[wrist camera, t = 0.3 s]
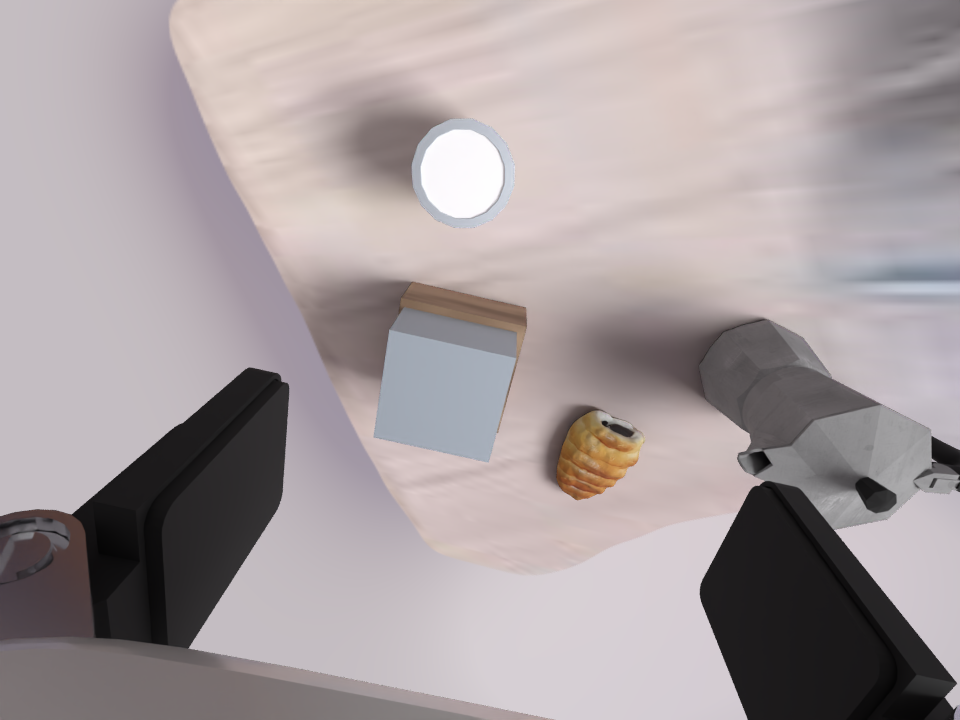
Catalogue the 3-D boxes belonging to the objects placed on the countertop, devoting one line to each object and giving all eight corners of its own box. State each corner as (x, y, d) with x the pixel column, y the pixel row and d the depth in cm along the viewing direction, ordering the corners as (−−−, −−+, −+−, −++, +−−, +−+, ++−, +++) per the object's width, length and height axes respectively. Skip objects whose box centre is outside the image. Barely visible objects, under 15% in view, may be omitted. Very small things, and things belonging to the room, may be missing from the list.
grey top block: (404, 307, 40) (389, 329, 35) (516, 332, 40) (516, 358, 36) (388, 405, 44) (373, 437, 39) (491, 428, 44) (488, 462, 39)
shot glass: (524, 129, 39) (525, 129, 32) (505, 221, 41) (503, 238, 35) (434, 111, 38) (418, 107, 32) (422, 204, 41) (404, 217, 35)
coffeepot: (664, 408, 47) (741, 556, 31) (687, 311, 43) (789, 422, 27) (835, 422, 47) (1007, 581, 30) (874, 325, 43) (1095, 447, 26)
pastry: (598, 497, 52) (603, 524, 49) (538, 473, 52) (539, 498, 48) (647, 426, 48) (656, 449, 45) (583, 399, 48) (587, 420, 44)
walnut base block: (413, 280, 44) (400, 298, 40) (526, 306, 45) (526, 326, 40) (396, 381, 48) (383, 407, 44) (499, 404, 49) (497, 433, 44)
